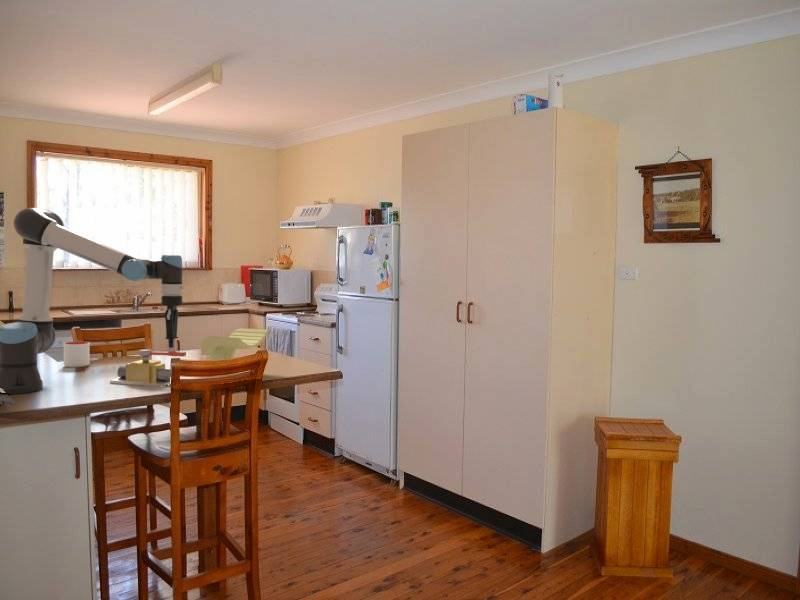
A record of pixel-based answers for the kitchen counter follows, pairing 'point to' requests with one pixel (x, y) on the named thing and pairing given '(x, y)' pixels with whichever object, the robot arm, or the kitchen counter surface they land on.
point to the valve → (143, 373)
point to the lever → (160, 353)
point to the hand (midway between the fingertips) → (171, 355)
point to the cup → (76, 354)
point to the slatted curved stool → (232, 343)
